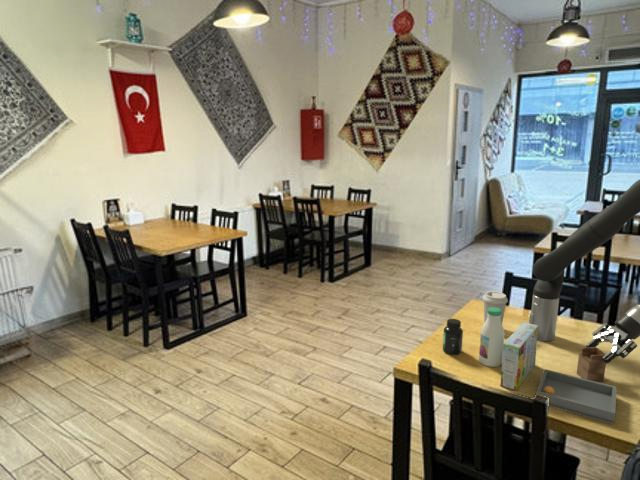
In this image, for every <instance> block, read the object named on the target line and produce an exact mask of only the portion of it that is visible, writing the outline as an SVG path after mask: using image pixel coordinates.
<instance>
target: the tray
mask: <svg viewBox="0 0 640 480" xmlns="http://www.w3.org/2000/svg"><path fill="white" fill-rule="evenodd" d="M547 386H550V387H552V388H553V389H554V391H555V393H554V395H552V394H549V393H545V392H544V388H545V387H547ZM617 390H618V389H617V386H614V385H611V384H607V383H604V382H595V381H591V380H587V379H583V378H581V377H580V376H579V377H578V376H574V375H569V374H566V373H563V372H558V371H553V370H550V369H546V368H544V369H543V372H542V376H541V378H540V381H539V384H538V387H537V389H536V394H535V396H536V395H537V394H538V395H542V396H546V397H548V398H549V406H548V407H551V408H554V407H556V408H555V409H557V408H559V409H558V410H561V409H562V410H561V411H564V410H566V411H565V412H568V411H570V412H569V413H571V412H573V413H572V414H575V413H577V414H576V415H578V414H579V416H582V415H583V417H585V416H586V418H589V419H593V420H596V421H599V420H600V422H604V423H605V424H606V423H607V424H610V425H614V423H615V418H616V417H615V416H616V404H617V401H616V400H617Z"/></svg>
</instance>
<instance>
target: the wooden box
mask: <svg viewBox="0 0 640 480" xmlns="http://www.w3.org/2000/svg"><path fill="white" fill-rule="evenodd" d="M606 354H607V353H605V352H604V351H602V350H601V349H600V348H599V347H597V346H596V347H586V346H585V347H581V349H580V353H578V358H577V360H578V361H577V367H576V374H577V376H579V378H583V379H587V380H591V381H595V382H599V383H604V380H605V373H606V367H607V366H606V365H607V363H605V362H604V361H603V360H602V357H604V356H605V355H606Z"/></svg>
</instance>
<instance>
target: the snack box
mask: <svg viewBox="0 0 640 480" xmlns="http://www.w3.org/2000/svg"><path fill="white" fill-rule="evenodd" d="M537 335H538V325H534V324H530V323H529V322H525V321H524V322H522V323H521V324H520V325H519V327H518V328H516V330H515V331H514V332H513V333H512V334H511V335H510V336H509V337H508V338H507V339H506V340H504V344H503V357H502V364H501V373H500V386H501V387H504V388H507V389H510V390H512V391H517V390H518V389H519V387H520V386H521V385H522V383H523V382H524V381H525V379H526V378H527V376H528V375H529V374H530V373H531V371H532V370H533V368H534V367H535V366H536V362H537V360H536V359H537V357H536V356H537V344H538V340H537Z"/></svg>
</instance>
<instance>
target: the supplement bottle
mask: <svg viewBox="0 0 640 480" xmlns="http://www.w3.org/2000/svg"><path fill="white" fill-rule="evenodd" d="M461 323H462V321H461V320H460V319H457V318H449V319H447V320H446V326H445V327H444V328H443V335H442V351H443V352H444V353H445V354H447V355H450V356H458V355H460V354H461V353H462V352H463V351H462V350H463V339H464V338H463V337H464V330H463V329H462V327H461Z"/></svg>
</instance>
